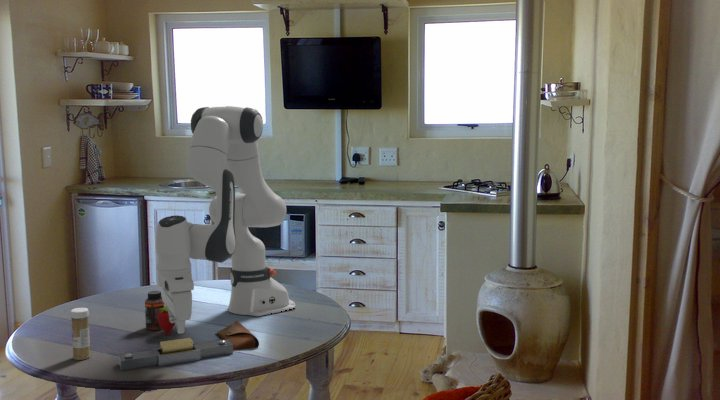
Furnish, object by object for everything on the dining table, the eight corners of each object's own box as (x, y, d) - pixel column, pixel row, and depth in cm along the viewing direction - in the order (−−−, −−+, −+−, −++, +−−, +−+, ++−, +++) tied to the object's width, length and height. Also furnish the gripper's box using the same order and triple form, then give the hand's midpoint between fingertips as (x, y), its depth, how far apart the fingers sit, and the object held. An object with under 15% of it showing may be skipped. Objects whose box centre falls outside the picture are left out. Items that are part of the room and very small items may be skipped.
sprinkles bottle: (69, 357, 194) (67, 309, 193) (85, 353, 198) (83, 306, 196) (78, 361, 191) (75, 312, 190) (94, 357, 195) (91, 309, 193)
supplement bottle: (170, 326, 222) (168, 290, 221) (157, 332, 217) (155, 295, 215) (154, 324, 225) (153, 288, 223) (141, 329, 219) (140, 293, 218)
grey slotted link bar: (226, 346, 204) (226, 336, 203) (234, 354, 197) (233, 343, 197) (118, 363, 191) (117, 351, 190) (122, 371, 184) (121, 360, 184)
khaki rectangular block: (190, 355, 197) (190, 337, 197) (193, 358, 195) (192, 340, 194) (160, 359, 194) (160, 341, 193) (163, 363, 191) (162, 345, 190)
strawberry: (176, 329, 219) (175, 297, 218) (179, 337, 212) (178, 304, 211) (156, 331, 217) (155, 299, 216) (159, 339, 210) (157, 306, 209)
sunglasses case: (212, 333, 215) (222, 313, 216) (231, 342, 219) (242, 322, 219) (230, 351, 200) (242, 330, 200) (251, 360, 203) (263, 339, 204)
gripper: (155, 270, 199) (157, 318, 201) (170, 288, 181) (172, 340, 183) (178, 267, 202) (180, 314, 204) (195, 285, 184) (197, 337, 186)
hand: (176, 327), depth 194 cm, fingers open, 8 cm apart
